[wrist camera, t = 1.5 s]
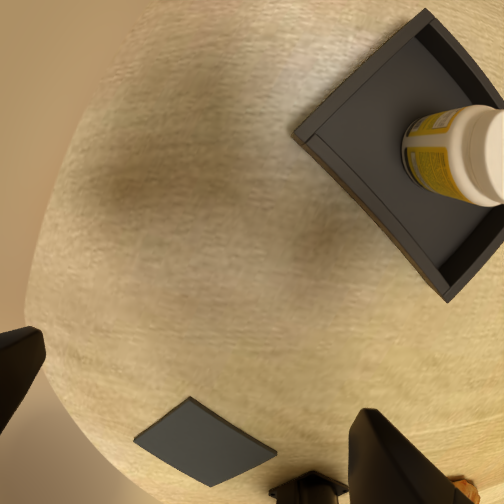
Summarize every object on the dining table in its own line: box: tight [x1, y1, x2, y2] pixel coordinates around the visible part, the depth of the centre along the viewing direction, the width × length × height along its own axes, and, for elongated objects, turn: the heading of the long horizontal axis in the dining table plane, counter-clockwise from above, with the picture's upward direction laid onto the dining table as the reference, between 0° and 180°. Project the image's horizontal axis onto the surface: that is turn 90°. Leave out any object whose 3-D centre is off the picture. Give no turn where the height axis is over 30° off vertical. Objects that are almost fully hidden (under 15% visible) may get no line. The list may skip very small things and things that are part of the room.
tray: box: [291, 8, 504, 303], centre depth 16 cm, size 14×12×3 cm
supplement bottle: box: [402, 105, 504, 207], centre depth 13 cm, size 5×5×8 cm
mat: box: [133, 397, 277, 487], centre depth 26 cm, size 10×10×1 cm
